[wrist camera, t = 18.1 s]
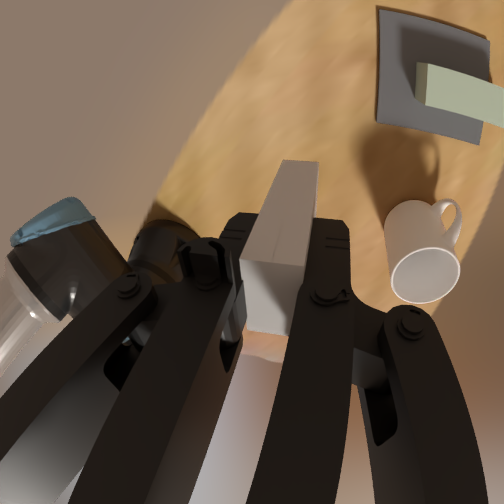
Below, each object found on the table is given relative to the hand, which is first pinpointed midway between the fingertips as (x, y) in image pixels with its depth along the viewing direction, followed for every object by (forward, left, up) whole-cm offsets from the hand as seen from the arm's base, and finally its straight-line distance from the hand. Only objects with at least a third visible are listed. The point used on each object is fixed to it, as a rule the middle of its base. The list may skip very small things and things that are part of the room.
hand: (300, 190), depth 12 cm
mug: (+14, -14, -24) cm, 31 cm away
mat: (+13, +5, -24) cm, 27 cm away
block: (+10, +4, -21) cm, 24 cm away
